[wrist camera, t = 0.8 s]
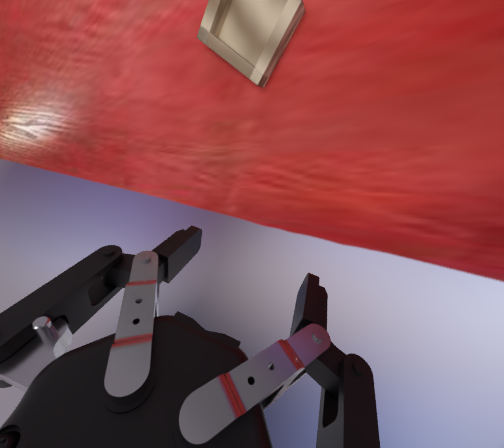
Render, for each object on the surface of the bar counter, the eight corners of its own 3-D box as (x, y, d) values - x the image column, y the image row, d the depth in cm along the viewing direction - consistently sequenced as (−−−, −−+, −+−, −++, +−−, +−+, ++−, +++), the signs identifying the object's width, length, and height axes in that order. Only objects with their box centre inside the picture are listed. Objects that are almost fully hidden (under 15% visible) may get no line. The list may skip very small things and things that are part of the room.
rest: (239, -42, 27) (228, -61, 24) (305, 11, 28) (302, -1, 25) (208, 44, 33) (196, 37, 30) (264, 87, 33) (257, 85, 30)
